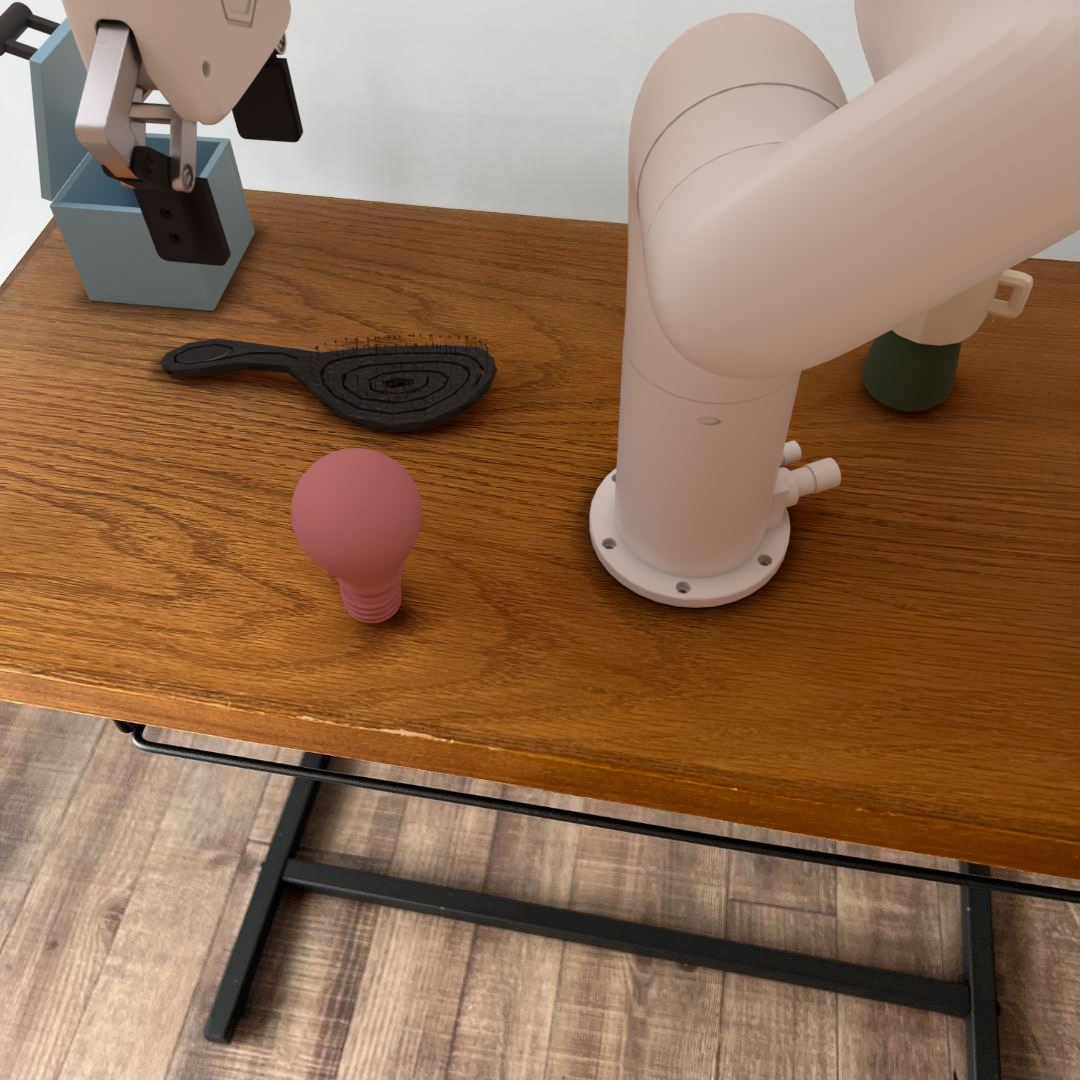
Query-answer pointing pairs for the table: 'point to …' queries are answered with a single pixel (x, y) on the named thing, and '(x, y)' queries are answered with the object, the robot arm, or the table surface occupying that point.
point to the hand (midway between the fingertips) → (236, 195)
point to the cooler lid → (50, 92)
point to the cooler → (124, 240)
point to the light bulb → (359, 526)
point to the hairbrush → (359, 377)
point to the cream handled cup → (935, 345)
